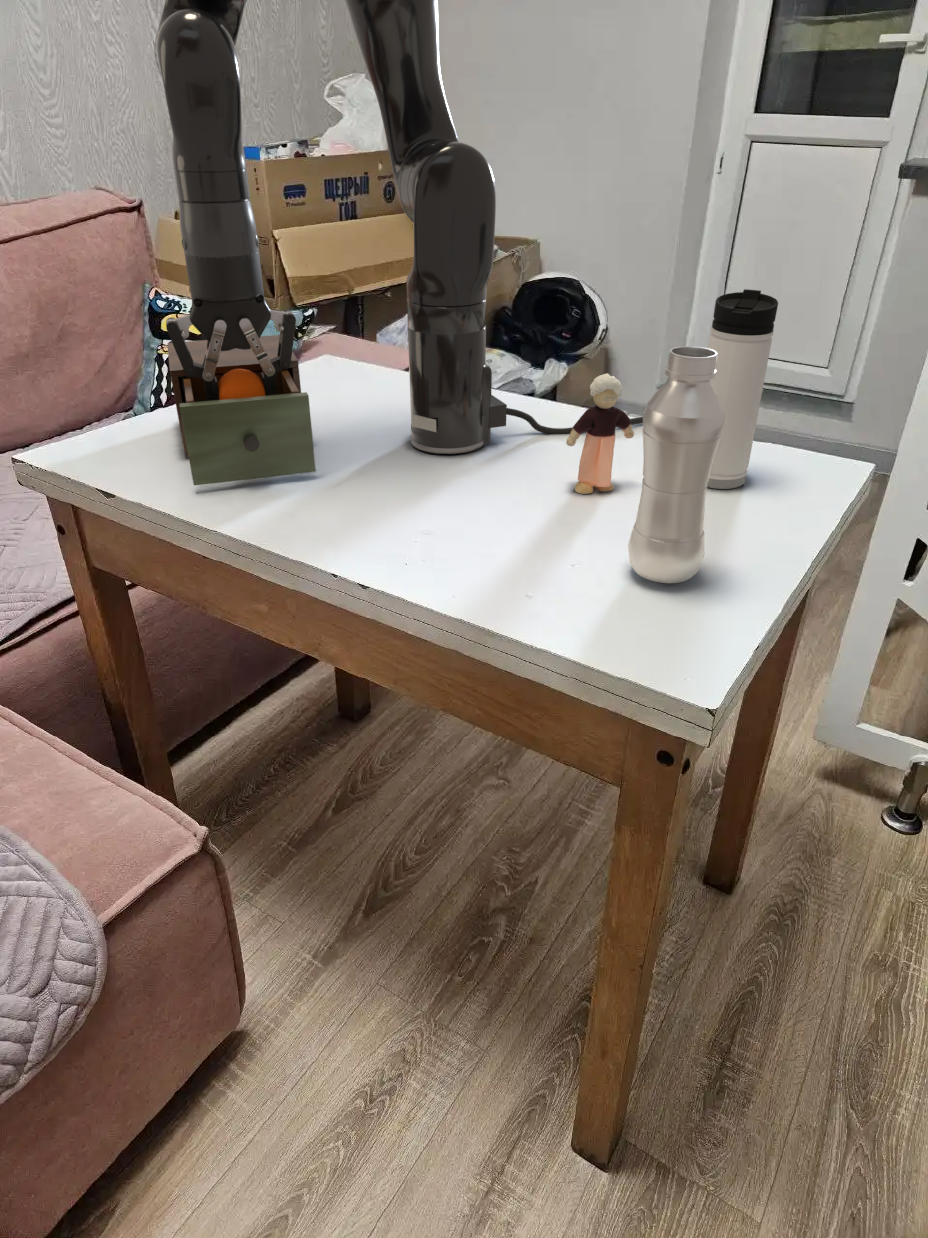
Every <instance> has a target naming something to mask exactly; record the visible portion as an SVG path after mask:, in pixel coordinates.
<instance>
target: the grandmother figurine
mask: <svg viewBox="0 0 928 1238" xmlns="http://www.w3.org/2000/svg"><path fill="white" fill-rule="evenodd" d="M589 389H590V392H589V394H590V396H591V397H592V399H593V403H594V406H592V407H588V408H587V409H586V410H585V411H584V412H583V414H582V415H581V416H580V417H579V418H578V420H577V421H576V422H575V423H574V425H573V426H572V427H573V429H572V431H571V433H570V434H569V436H568V437H567V438H566V441H565V442H566V445H567V446H568V447H574V446H575V445H576V443H577V440H578V439H579V438H580V436H581V434H583V433H586V434H585V437H584V442H583V446H582V451H581V455H580V459H579V465H578V473H577V482H576V483H575V485H574V490H575V492H576V493H578V494H582V495H588V494H592V493H593V492H594V488H595V489H596V490H598V491H600V492H610V491H613V490H614V484H613V483H612V473H613V461H614V454H615V453H614V451H615V445H616V444H615V443H616V427H617V428H618V429H620V430H622V432H623V435H624V437H625V438H626V439H633V438H634V436H635V432H634V430H633V427H632V426H633V425H631V420H630V419H631V418H630V417H629V416H628V414H627V413H626V412H625V411H624V410H622V409H621V408H618V407H616V406H615V405H616V403H617V400H618V398H619V396H621V392H623V386H622V384H621V381H620V380H619V379H618V378H616V377H615V376H614V375H610V374H609V373H604V374H602V375H598V376H596V377H594V379H593V381H592V382H591V384H590V385H589ZM585 431H587V432H585Z"/></svg>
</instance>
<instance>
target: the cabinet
mask: <svg viewBox="0 0 928 1238" xmlns="http://www.w3.org/2000/svg"><path fill="white" fill-rule="evenodd" d="M279 336H280V334H275V335H274V334H273V335H272V334H271V335H261V337H260V338H259V339H260V341H261V343H262V345H263V347H264V349H265V351H266V353H267V355H268V357H269V359H273V358H275V357H277V353H278V345H279ZM185 342H186V344H187V347H188V349H189V351H190V354H191V356H192V359H193V361H194V363H198V364H203V360H204V355H205V349H206V344H207V339H201V340H189V341H188V340H187V341H186V340H185ZM166 345H167V355H168V366H169V375H170V380H171V385H172V391H173V397H174V402H175V409H176V415H177V419H178V425H179V429H180V435H181V441H182V447H183V452H184V458H185V459H186V460H187V459H188V460H189V456H188V450H187V445H186V439H185V433H184V428H183V422H182V417H181V411H180V403H186V396H185V389H184V381H183V376H186V374H185V372H184V370H183V367H182V365H181V363H180V360H179V358H178V355H177V353H176V351H175V348H174V346H173V343H172V342H167V343H166ZM299 367H300V365H299V359H297V356H296V355H295V353H294V351H293V350H292V357H291V365H290V367H289V368H288V369H287V370H288V372H289V374H290V376H291V378H292V380H293V381H294V383H295V385H296V387H297V389H298V391H299V393H302V387H301V377H300V376H301V375H300V368H299ZM234 369H246V370H249V371H257V370H262V367H261V366H260V364H259V362H258V360H257V358H256V356H255V354H254V352H253V350H252V348H250V349H245V350H243V349H237V348H235V349H232V350H229V351H221V352H220V356H219V360H218V363H217V366H216V371H215V374H220V373H227V372H229V371H231V370H234Z"/></svg>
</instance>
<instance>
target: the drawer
mask: <svg viewBox="0 0 928 1238" xmlns="http://www.w3.org/2000/svg"><path fill="white" fill-rule="evenodd" d="M251 372H253V373H255V374H256V375H257V376H258V377H259V378H260V379H261V380H262V377H261V373H263V370H257V371H251ZM224 374H226V373H220V374H215V375H214V376H215V377H216V379H217V384H218V382H219V380H220V379H221V377H222V376H223V375H224ZM275 379H276V387H277V395H270V396H259V397H248V398H236V399H225V400H214V401H207V399H206V393H205V387H204V382H203V381H202V380H201V379H200V378H196V377H188V376H183V381H184V389H185V396H186V403H180V411H181V417H182V422H183V428H184V433H185V439H186V445H187V450H188V456H189V458H188V461H189V465H190V466H189V467H190V473H191V477H192V484H193V486H202V485H211V484H218V483H219V484H221V483H229V482H237V481H238V482H239V481H247V480H254V479H255V480H256V479H263V478H265V479H266V478H273V477H282V476H289V475H290V476H291V475H298V474H306V473H307V474H308V473H316V471H317V469H316V460H315V450H314V437H313V428H312V418H311V407H310V397H309V394H308V392H307V391H305V392H301V393H299V391H298V389H297V387H296V385H295V383H294V381H293V380H292V378H291V376H290V374H289V372H288V370H287V369H283V370H281V371H279V372H278V373H277V374H276V377H275Z"/></svg>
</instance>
